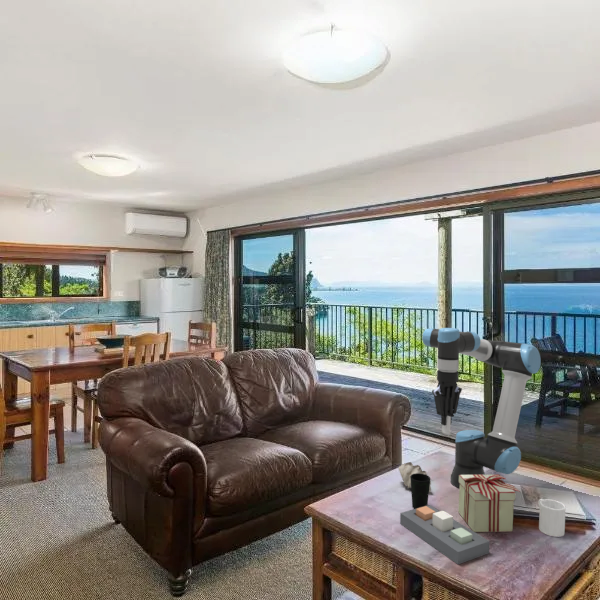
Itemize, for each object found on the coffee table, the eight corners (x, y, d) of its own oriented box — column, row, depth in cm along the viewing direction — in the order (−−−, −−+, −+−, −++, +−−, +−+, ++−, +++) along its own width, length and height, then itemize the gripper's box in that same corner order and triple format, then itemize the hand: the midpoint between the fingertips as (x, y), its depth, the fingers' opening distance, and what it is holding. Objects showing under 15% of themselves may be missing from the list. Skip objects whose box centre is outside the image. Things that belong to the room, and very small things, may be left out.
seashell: (416, 480, 215) (417, 457, 214) (433, 494, 200) (434, 471, 200) (395, 482, 212) (395, 459, 212) (411, 497, 198) (411, 473, 197)
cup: (430, 513, 185) (431, 482, 184) (409, 510, 186) (410, 480, 186) (429, 503, 192) (429, 474, 192) (409, 501, 194) (410, 472, 193)
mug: (548, 519, 181) (549, 493, 180) (569, 536, 169) (570, 509, 168) (527, 520, 180) (528, 494, 179) (548, 537, 168) (549, 510, 167)
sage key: (460, 541, 163) (461, 527, 163) (471, 549, 159) (472, 534, 158) (450, 545, 161) (450, 530, 160) (461, 552, 157) (461, 537, 156)
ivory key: (442, 524, 170) (443, 510, 170) (452, 530, 166) (453, 516, 166) (432, 527, 168) (432, 513, 168) (442, 534, 164) (442, 519, 164)
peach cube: (425, 519, 178) (426, 505, 178) (435, 525, 174) (435, 511, 174) (415, 522, 176) (416, 508, 176) (424, 528, 172) (425, 514, 171)
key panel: (429, 515, 183) (429, 504, 183) (489, 553, 158) (489, 541, 158) (400, 523, 176) (400, 512, 176) (457, 564, 152) (458, 552, 151)
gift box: (479, 539, 167) (481, 490, 166) (454, 513, 185) (455, 469, 184) (524, 535, 169) (526, 487, 168) (495, 510, 188) (496, 466, 187)
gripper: (453, 367, 184) (451, 428, 185) (427, 369, 178) (425, 432, 179) (468, 370, 177) (466, 433, 178) (441, 373, 171) (440, 439, 172)
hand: (446, 433), depth 179 cm, fingers closed
